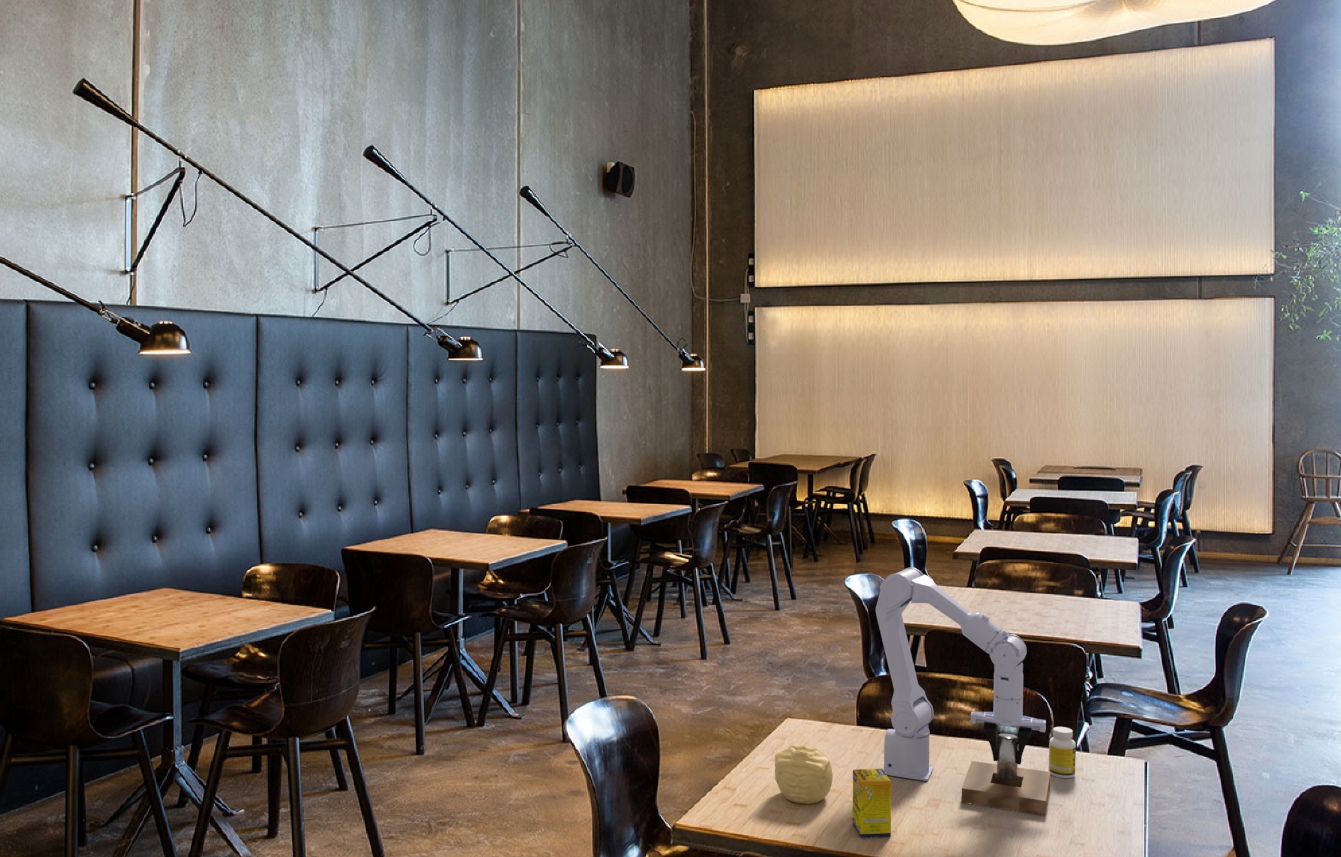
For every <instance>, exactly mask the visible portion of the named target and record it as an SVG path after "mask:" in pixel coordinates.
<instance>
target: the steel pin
mask: <svg viewBox="0 0 1341 857" xmlns="http://www.w3.org/2000/svg"><path fill="white" fill-rule="evenodd" d="M1017 755H1018V735H1015V734H1012V733H999V734H998V736H997V761H996V764H997V775H998V776H999V777H1001V778H1005V779H1015V778H1017V770H1018V768H1019V766H1018V765H1019V764H1017Z"/></svg>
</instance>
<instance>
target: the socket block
mask: <svg viewBox="0 0 1341 857" xmlns="http://www.w3.org/2000/svg"><path fill="white" fill-rule="evenodd" d="M966 772H967V773H966V775H965V779H964V781H963V784H962V786H961V803H962V804H967V803H971V804H970V805H973V804H974V806H975V805H976V806H979V807H985V808H986V807H987V808H994V809H1000V810H1004V811H1005V810H1006V811H1013V812H1017V811H1018V813H1025V814H1030V815H1037V816H1044V817H1046V816H1047V810H1048V804H1049V797H1050V789H1051V774H1050V772H1049V771H1046V770H1038V769H1032V768H1031V769H1030V768H1024V767H1018V770H1017V778H1015V779H1005V778H1001V777H999V776H998V775H997V763H988V762H982V761H975V760H971V761H970V765H969V766H968V769H967V771H966Z"/></svg>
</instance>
